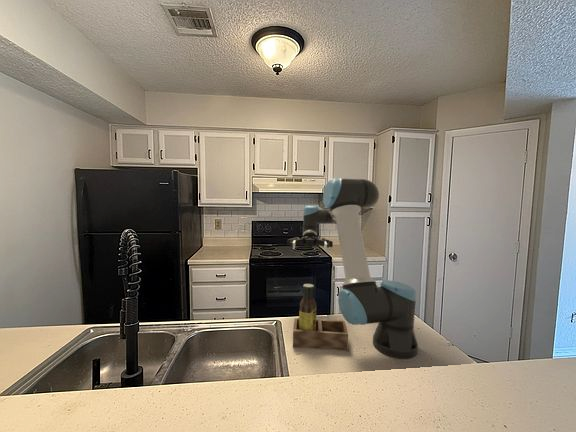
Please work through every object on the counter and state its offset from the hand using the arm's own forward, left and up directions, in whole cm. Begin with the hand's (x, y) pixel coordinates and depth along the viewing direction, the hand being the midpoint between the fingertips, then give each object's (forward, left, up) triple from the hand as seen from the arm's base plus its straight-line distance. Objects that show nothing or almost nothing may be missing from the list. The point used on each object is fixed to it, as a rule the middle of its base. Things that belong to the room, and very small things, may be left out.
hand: (309, 246), depth 116 cm
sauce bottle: (0, +17, -31) cm, 35 cm away
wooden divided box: (-5, +17, -32) cm, 36 cm away
